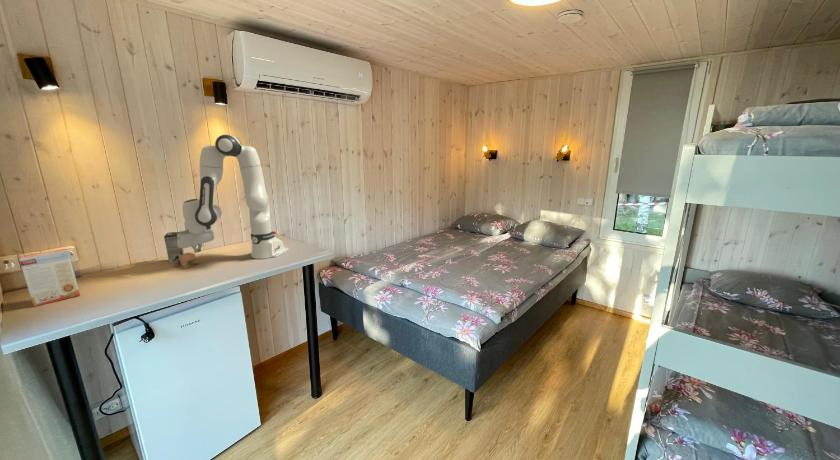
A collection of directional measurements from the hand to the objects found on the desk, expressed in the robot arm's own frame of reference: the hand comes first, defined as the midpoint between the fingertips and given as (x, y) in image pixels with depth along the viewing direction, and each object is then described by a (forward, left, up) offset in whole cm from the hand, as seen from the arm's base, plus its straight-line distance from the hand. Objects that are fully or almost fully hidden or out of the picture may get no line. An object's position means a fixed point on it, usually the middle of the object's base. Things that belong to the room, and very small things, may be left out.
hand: (197, 252), depth 193 cm
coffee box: (+2, -14, -6) cm, 16 cm away
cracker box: (+56, -14, -6) cm, 58 cm away
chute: (+11, +1, -6) cm, 13 cm away
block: (+7, +1, -5) cm, 9 cm away
